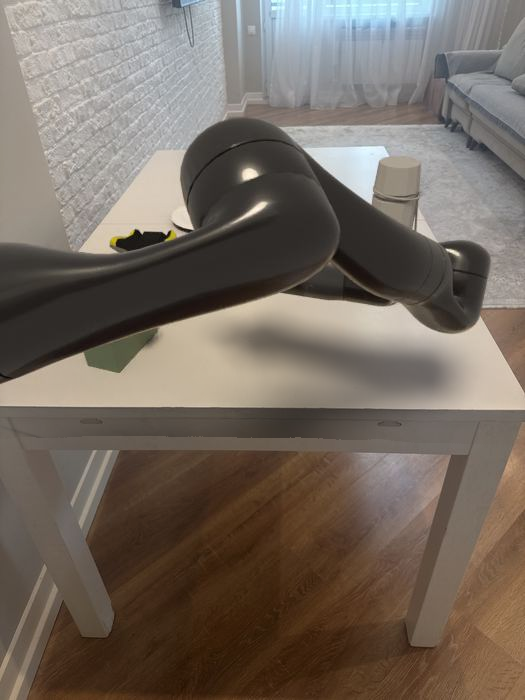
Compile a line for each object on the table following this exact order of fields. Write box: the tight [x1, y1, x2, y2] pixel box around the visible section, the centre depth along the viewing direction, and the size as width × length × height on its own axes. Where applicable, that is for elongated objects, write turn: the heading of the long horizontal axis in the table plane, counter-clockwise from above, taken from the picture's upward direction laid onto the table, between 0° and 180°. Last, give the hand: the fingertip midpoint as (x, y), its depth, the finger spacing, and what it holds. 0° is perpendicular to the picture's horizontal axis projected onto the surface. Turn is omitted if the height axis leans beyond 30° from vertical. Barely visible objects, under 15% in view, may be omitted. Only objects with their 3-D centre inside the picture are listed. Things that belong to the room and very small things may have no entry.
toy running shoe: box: [109, 228, 178, 253], centre depth 109 cm, size 15×6×10 cm
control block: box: [83, 328, 158, 374], centre depth 79 cm, size 6×12×12 cm, turn 160°
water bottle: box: [371, 155, 423, 305], centre depth 85 cm, size 9×8×25 cm
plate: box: [170, 204, 194, 232], centre depth 125 cm, size 21×21×2 cm
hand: (189, 250), depth 66 cm, fingers closed
